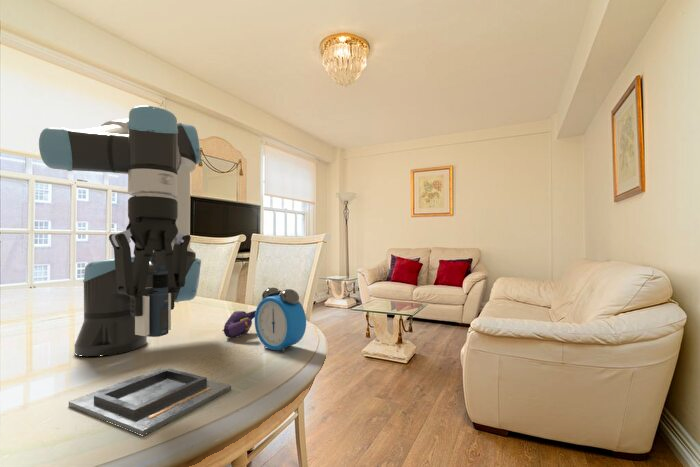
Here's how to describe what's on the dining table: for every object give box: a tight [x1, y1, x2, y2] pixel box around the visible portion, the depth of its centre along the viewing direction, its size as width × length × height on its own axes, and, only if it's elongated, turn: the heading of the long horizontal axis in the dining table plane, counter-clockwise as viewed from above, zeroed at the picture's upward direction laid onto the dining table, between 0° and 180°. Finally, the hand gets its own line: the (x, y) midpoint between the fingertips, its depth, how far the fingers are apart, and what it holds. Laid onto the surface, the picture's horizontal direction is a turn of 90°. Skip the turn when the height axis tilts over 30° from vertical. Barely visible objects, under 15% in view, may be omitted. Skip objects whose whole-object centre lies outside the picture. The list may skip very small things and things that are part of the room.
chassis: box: [68, 367, 232, 436], centre depth 58 cm, size 20×16×2 cm
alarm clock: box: [254, 286, 307, 353], centre depth 84 cm, size 13×6×15 cm, turn 55°
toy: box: [222, 310, 256, 339], centre depth 95 cm, size 11×12×7 cm
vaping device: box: [143, 266, 169, 338], centre depth 58 cm, size 3×5×12 cm, turn 76°
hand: (153, 331), depth 58 cm, fingers closed on vaping device, 3 cm apart
